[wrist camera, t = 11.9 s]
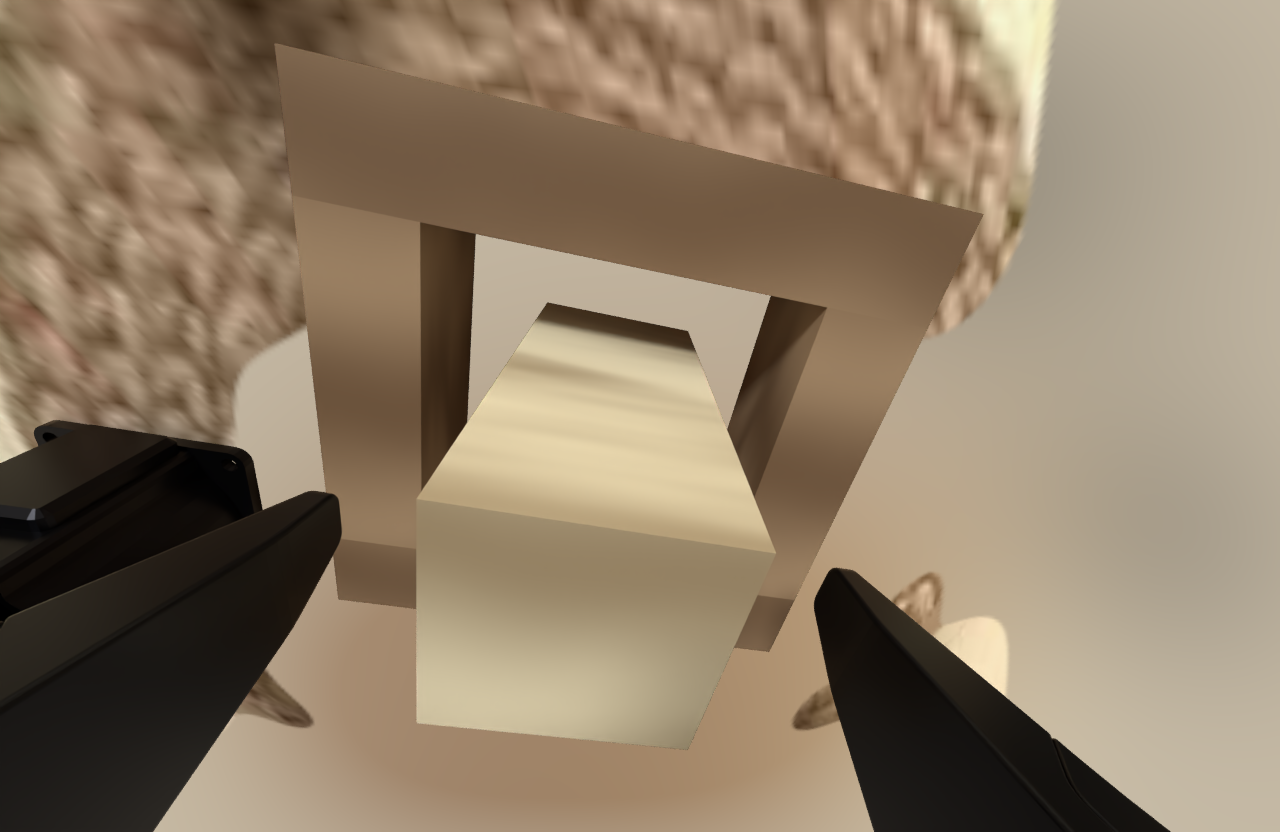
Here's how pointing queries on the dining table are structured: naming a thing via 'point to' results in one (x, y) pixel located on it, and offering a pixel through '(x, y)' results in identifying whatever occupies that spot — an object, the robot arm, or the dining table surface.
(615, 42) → the dining table surface
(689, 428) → the birch peg
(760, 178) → the socket block
